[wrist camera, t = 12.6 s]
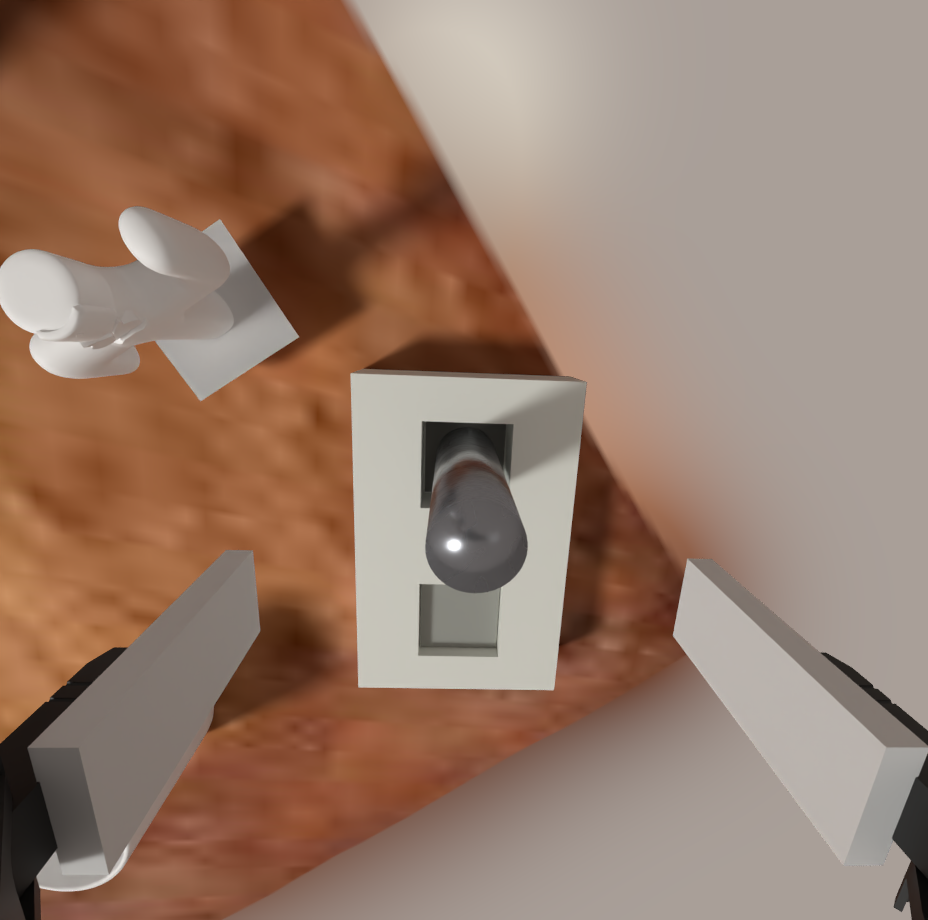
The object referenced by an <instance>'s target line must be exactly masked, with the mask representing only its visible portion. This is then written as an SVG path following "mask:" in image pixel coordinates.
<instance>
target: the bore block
mask: <svg viewBox="0 0 928 920" xmlns="http://www.w3.org/2000/svg"><path fill="white" fill-rule="evenodd" d="M586 384H587V382H585V381H582V380H579V379H576V378H573V377H568V376H542V375H515V374H488V373H461V372H435V371H408V370H381V369H362V370H359V371H356V372H353V373H351V405H352V446H353V486H354V526H355V566H356V607H357V647H358V687H376V688H444V689H513V690H554V685H555V676H556V666H557V657H558V648H559V638H560V629H561V619H562V610H563V601H564V591H565V582H566V573H567V563H568V554H569V545H570V535H571V526H572V516H573V507H574V498H575V488H576V479H577V470H578V460H579V451H580V442H581V432H582V423H583V413H584V403H585V395H586ZM460 427H472V428H476V429H478V430H480V431H482V432H483V433H485V434H486V435H487V436H488V437H489V438H490V440H491V441H492V443H493V446H494V448H495V451H496V454H497V456H498V459H499V462H500V464H501V467H502V470H503V472H504V475H505V478H506V480H507V483H508V486H509V489H510V491H511V494H512V497H513V499H514V502H515V505H516V507H517V510H518V513H519V515H520V518H521V521H522V523H523V526H524V529H525V532H526V535H527V541H528V550H527V556H526V559H525V562H524V564H523V566H522V568H521V570H520V571H519V573H518V574H517V575H516V576H515V577H514V578H513V579H512V580H511V581H510V582H508V583H507V584H506V585H504V586H502V587H500V588H498V589H496V590H493V591H490V592H485V593H466V592H461V591H458V590H455V589H453V588H451V587H449V586H447V585H446V584H444V583H443V582H442V581H441V580H439V579H438V578H437V576H436V575H435V574H434V573H433V571H432V570H431V568H430V566H429V564H428V561H427V558H426V553H425V543H426V534H427V526H428V519H429V511H430V503H431V495H432V487H433V479H434V471H435V463H436V455H437V449H438V446H439V443H440V442H441V440H442V439H443V437H444V436H445V435H446V434H447V433H449V432H450V431H452V430H454V429H457V428H460Z"/></svg>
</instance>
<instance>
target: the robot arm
mask: <svg viewBox="0 0 928 920" xmlns="http://www.w3.org/2000/svg"><path fill="white" fill-rule="evenodd" d="M259 633H260V621H259V611H258V600H257V590H256V579H255V568H254V558H253V551H249V550H226V551H225V552H224V553H223V554H222V555H221V556H220V557H219V558H218V559H217V560H216V561H215V562H214V563H213V564H212V565H211V566H210V567H209V568H208V569H207V570H206V571H205V572H204V573H203V574H202V575H201V576H200V577H199V578H198V579H197V580H196V581H195V582H194V583H193V584H192V585H191V586H190V587H189V588H188V589H187V590H186V591H185V592H184V593H183V594H182V595H181V596H180V597H179V598H178V599H177V600H176V601H175V602H174V603H173V604H172V605H171V606H169V607H168V608H167V609H166V610H165V611H164V612H163V613H162V614H161V615H160V616H159V617H158V618H157V619H156V620H155V621H154V622H153V623H152V624H151V625H150V626H149V627H148V628H147V629H146V630H145V631H144V632H143V633H142V634H141V635H140V636H139V637H138V638H137V639H136V640H135V641H134V642H133V643H132V644H131V645H130V646H129V647H128V648H115V647H114V648H112V649H111V650H109V651H107V652H105V653H104V654H102V655H100V656H99V657H97V658H95V659H94V660H92V661H90V662H89V663H87V664H86V665H85V666H84V667H83V668H82V669H81V670H80V671H78V672H77V673H76V674H75V675H74V676H73V677H72V678H71V679H70V680H69V681H68V682H67V685H66V686H62V687H61V688H60V689H59V690H58V691H57V692H56V693H55V694H54V695H53V696H51V697H50V700H49V702H45V703H44V704H43V705H42V706H41V707H40V708H38V709H37V710H36V711H35V712H34V713H33V714H32V715H31V716H30V717H29V718H28V719H27V720H25V721H24V722H23V723H22V724H21V725H20V726H19V727H18V728H17V729H16V730H15V731H14V732H13V733H11V734H10V735H9V736H8V737H7V738H6V739H5V740H4V741H3V742H2V743H1V744H0V920H41V907H40V887H39V884H38V881H37V877H36V876H37V875H38V873H39V872H40V871H41V869H42V868H43V867H44V865H45V864H46V863H47V861H48V860H49V859H50V857H51V856H52V855H53V853H54V852H55V851H56V853H57V857H58V860H59V864H60V867H61V871H62V875H109V874H110V872H111V871H112V869H113V867H114V866H115V864H116V863H117V861H118V859H119V858H120V856H121V855H122V853H123V851H124V850H125V848H126V847H127V845H128V843H129V842H130V840H131V838H132V837H133V835H134V834H135V832H136V830H137V829H138V827H139V826H140V824H141V822H142V821H143V819H144V818H145V816H146V814H147V813H148V811H149V810H150V808H151V806H152V805H153V803H154V801H155V800H156V798H157V797H158V795H159V793H160V792H161V790H162V789H163V787H164V785H165V784H166V782H167V781H168V779H169V777H170V776H171V774H172V773H173V771H174V769H175V768H176V766H177V764H178V763H179V761H180V760H181V758H182V756H183V755H184V753H185V752H186V750H187V748H188V747H189V745H190V744H191V742H192V740H193V739H194V737H195V735H196V734H197V732H198V731H199V729H200V727H201V726H202V724H203V723H204V721H205V719H206V718H207V716H208V715H209V713H210V711H211V710H212V708H213V707H214V705H215V703H216V702H217V700H218V698H219V697H220V695H221V694H222V692H223V690H224V689H225V687H226V686H227V684H228V682H229V681H230V679H231V678H232V676H233V674H234V673H235V671H236V670H237V668H238V666H239V665H240V663H241V661H242V660H243V658H244V657H245V655H246V653H247V652H248V650H249V649H250V647H251V645H252V644H253V642H254V641H255V639H256V637H257V636H258V634H259ZM673 636H674V638H675V639H676V640H677V642H678V643H679V644H680V646H681V647H682V648H683V650H684V651H685V653H686V654H687V655H688V657H689V658H690V659H691V661H692V662H693V663H694V665H695V666H696V667H697V669H698V670H699V671H700V673H701V674H702V675H703V677H704V678H705V680H706V681H707V682H708V683H709V685H710V686H711V688H712V689H713V690H714V692H715V693H716V694H717V696H718V697H719V698H720V700H721V701H722V702H723V704H724V705H725V707H726V708H727V709H728V710H729V712H730V713H731V715H732V716H733V717H734V719H735V720H736V721H737V723H738V724H739V725H740V727H741V728H742V729H743V731H744V732H745V733H746V735H747V736H748V738H749V739H750V740H751V742H752V743H753V744H754V745H755V747H756V748H757V750H758V751H759V752H760V754H761V755H762V756H763V758H764V759H765V761H766V762H767V763H768V765H769V766H770V767H771V769H772V770H773V771H774V773H775V774H776V775H777V777H778V778H779V779H780V781H781V782H782V783H783V784H784V786H785V787H786V789H787V790H788V791H789V793H790V794H791V796H792V797H793V798H794V800H795V801H796V802H797V804H798V805H799V806H800V808H801V809H802V810H803V812H804V813H805V815H806V816H807V817H808V819H809V820H810V821H811V823H812V824H813V825H814V827H815V828H816V829H817V831H818V832H819V833H820V835H821V836H822V837H823V839H824V840H825V842H826V843H827V844H828V846H829V847H830V848H831V850H832V851H833V852H834V854H835V855H836V856H837V858H838V859H839V860H840V862H841V863H842V864H843V866H867V865H869V866H871V865H883V864H884V862H885V860H886V857H887V855H888V852H889V849H890V847H891V844H892V842H893V840H894V841H895V842H896V844H897V845H898V846H899V847H900V848H901V849H902V850H903V852H905V854H906V855H907V856H908V857H909V858H910V860H911V862H910V865H909V867H908V869H907V872H906V874H905V876H904V879H903V881H902V884H901V886H900V888H899V891H898V893H897V896H896V899H895V904H894V908H896V909H898V910H899V911H901V912H902V911H903V908H904V906H905V904H906V902H910V909H911V917H912V920H928V731H927V730H926V729H925V728H923V726H921V725H920V724H919V723H918V722H917V721H915V720H914V719H913V718H912V717H911V716H909V715H908V714H907V713H906V712H905V711H903V710H902V709H901V708H900V707H899V706H897V705H896V704H892V703H891V700H890V699H889V698H888V697H886V696H885V695H884V694H883V693H882V692H880V691H879V690H878V689H874V688H873V685H872V684H871V683H870V682H868V681H867V680H866V679H865V678H864V677H863V676H861V675H860V674H859V673H858V672H856V671H855V670H854V669H853V668H851V667H850V666H848V665H846V664H845V663H843V662H841V661H839V660H838V659H836V658H834V657H832V656H831V655H829V654H827V653H820V652H819V651H818V650H816V649H815V648H814V647H813V646H811V644H809V643H808V642H807V641H806V640H805V639H804V638H803V637H801V636H800V635H799V634H798V633H797V632H795V631H794V630H793V629H792V628H791V627H790V626H789V625H787V624H786V623H785V622H784V621H783V620H782V619H781V618H779V617H778V616H777V615H776V614H774V612H772V611H771V610H770V609H769V608H768V607H767V606H765V605H764V604H763V603H762V602H761V601H760V600H758V599H757V598H756V597H755V596H754V595H753V594H752V593H750V592H749V591H748V590H747V589H746V588H745V587H743V586H742V585H741V584H740V583H739V582H737V581H736V580H735V579H734V578H733V577H732V576H731V575H730V574H728V573H727V572H726V571H725V570H724V569H723V568H721V567H720V566H719V565H718V564H717V563H716V562H714V561H713V560H712V559H687V564H686V569H685V575H684V580H683V585H682V591H681V596H680V601H679V606H678V612H677V617H676V622H675V628H674V633H673Z"/></svg>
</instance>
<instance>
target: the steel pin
mask: <svg viewBox="0 0 928 920" xmlns="http://www.w3.org/2000/svg"><path fill="white" fill-rule="evenodd" d="M527 550H528V541H527V535H526V532H525V529H524V526H523V523H522V521H521V518H520V515H519V513H518V510H517V507H516V505H515V502H514V499H513V497H512V494H511V491H510V489H509V486H508V483H507V480H506V478H505V475H504V472H503V470H502V467H501V464H500V462H499V459H498V456H497V454H496V451H495V448H494V446H493V443H492V441H491V440H490V438H489V437H488V436H487V435H486V434H485V433H483V432H482V431H480V430H478V429H476V428H472V427H460V428H457V429H454V430H452V431H450V432H449V433H447V434H446V435H445V436H444V437H443V439H442V440H441V442H440V443H439V446H438V449H437V455H436V463H435V471H434V479H433V487H432V495H431V503H430V511H429V519H428V526H427V534H426V543H425V553H426V558H427V561H428V564H429V566H430V568H431V570H432V571H433V573H434V574H435V575H436V576H437V578H438V579H439V580H441V581H442V582H443V583H444V584H446V585H447V586H449V587H451V588H453V589H455V590H458V591H461V592H466V593H485V592H490V591H493V590H496V589H498V588H500V587H502V586H504V585H506V584H507V583H508V582H510V581H511V580H512V579H513V578H514V577H515V576H516V575H517V574H518V573H519V571H520V570H521V568H522V566H523V564H524V562H525V559H526V556H527Z"/></svg>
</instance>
